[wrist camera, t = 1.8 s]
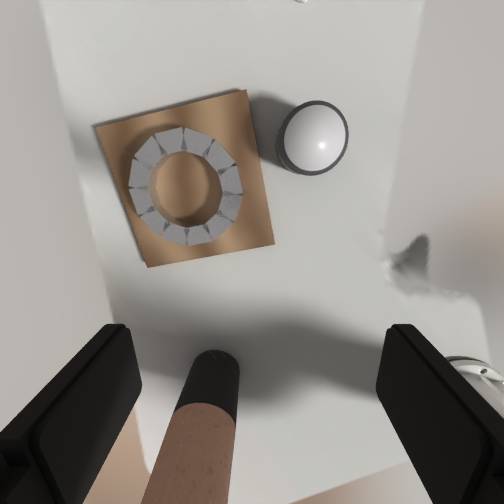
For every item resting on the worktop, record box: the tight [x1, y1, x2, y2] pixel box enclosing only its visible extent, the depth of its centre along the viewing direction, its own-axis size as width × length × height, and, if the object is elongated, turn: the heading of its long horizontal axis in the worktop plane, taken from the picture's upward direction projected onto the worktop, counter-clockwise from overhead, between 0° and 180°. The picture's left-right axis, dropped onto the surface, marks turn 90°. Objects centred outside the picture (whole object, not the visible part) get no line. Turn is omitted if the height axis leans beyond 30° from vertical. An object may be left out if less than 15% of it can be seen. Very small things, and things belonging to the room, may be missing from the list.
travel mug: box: [141, 350, 240, 504], centre depth 27 cm, size 8×8×20 cm
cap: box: [276, 101, 349, 176], centre depth 24 cm, size 6×6×5 cm
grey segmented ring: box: [128, 127, 244, 246], centre depth 26 cm, size 12×12×2 cm
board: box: [96, 89, 275, 268], centre depth 27 cm, size 16×16×1 cm
